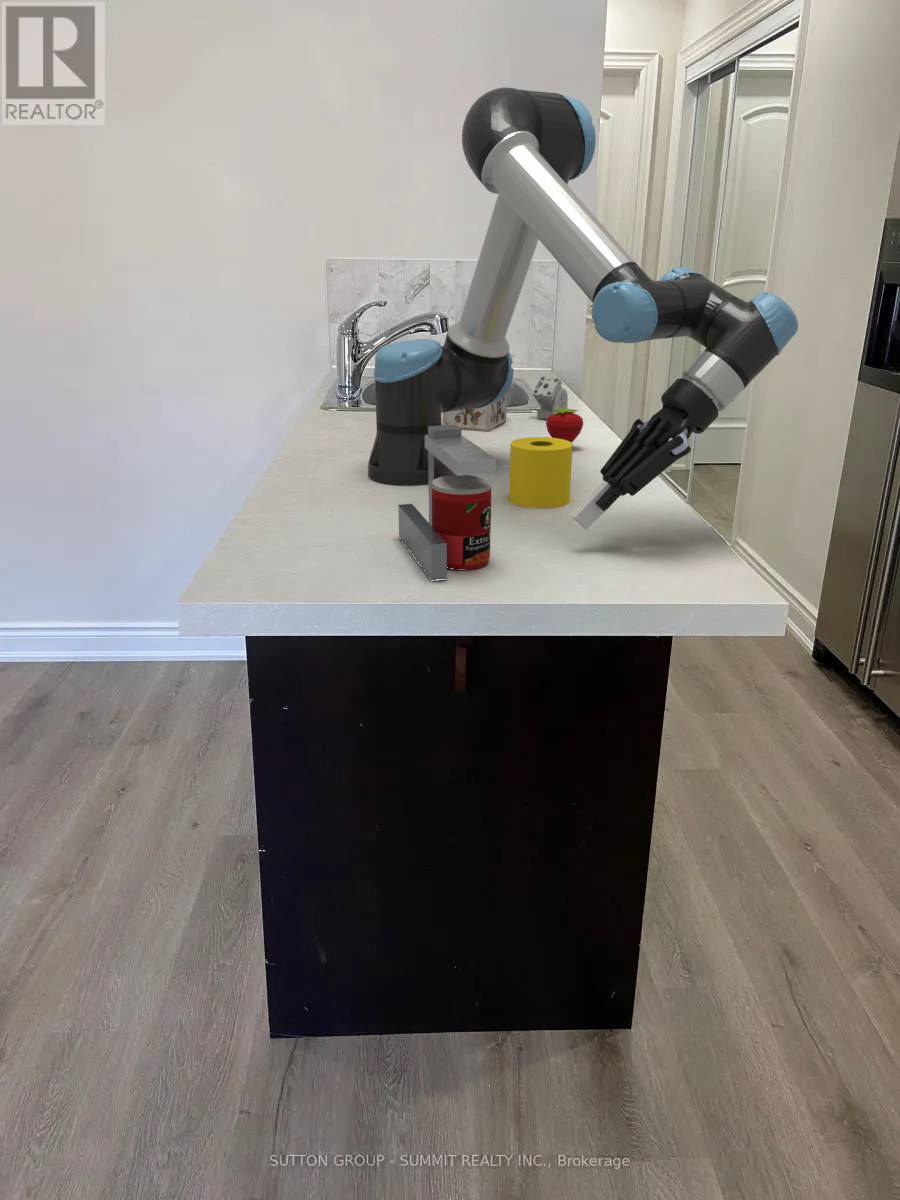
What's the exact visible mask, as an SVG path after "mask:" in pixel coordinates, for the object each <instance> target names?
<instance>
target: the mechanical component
mask: <svg viewBox="0 0 900 1200" xmlns="http://www.w3.org/2000/svg"><path fill="white" fill-rule="evenodd" d="M562 385H563V382H562V380H561V378H560V377H554V376H545V375H542V376H540V377H539V380H538V381H537V383H536V385H535V387H534V388H533V390H532V392H531V394H532V396H533V398H534V399H535V401H536V402H537V403H538V405H539V406H540V409H538V410H537V411H536V412H537V413H536V414H537V415H536V417H537V418H539V419H546V420H547V418H548V417H549V416H550V415H551V414H555V413H557V411H552V410H555V409H562V405H563V408H565V409H568V406H569V405H568V402H569V399H568V392H567V390H566V389H565V388H563V387H562ZM564 401H565V402H564ZM563 403H564V404H563Z"/></svg>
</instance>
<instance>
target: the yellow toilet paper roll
mask: <svg viewBox="0 0 900 1200" xmlns="http://www.w3.org/2000/svg"><path fill="white" fill-rule="evenodd" d="M509 456H510V457H509V458H510V459H509V487H508V488H509V490H508V491H509V492H508V493H509V494H508V495H509V497H508V498H509V499H508V501H509V502H510V501H511V502H512V504H513V503H514V504H513V505H516V504H517V505H516V506H519V505H521V506H520V507H523V506H525V507H524V508H529V507H534V508H533V509H553V508H554V507H555V508H561V507H563V506H566V505H568V504H569V503H570V502H571V500H570V499H571V485H572V484H571V482H572V481H571V480H572V462H573V461H572V459H573V442H572V443H571V442H569V441H567V440H563V439H558V438H552V437H547V436H546V437H545V436H544V437H543V436H534V437H530V436H529V437H522V438H517V439H514V440H511V442H510V455H509ZM511 502H510V503H511ZM555 508H554V509H555Z"/></svg>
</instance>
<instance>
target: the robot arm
mask: <svg viewBox="0 0 900 1200" xmlns="http://www.w3.org/2000/svg"><path fill="white" fill-rule="evenodd" d="M596 138H597V136H596V128H595V126H594V124H593V118H592V114H591V113H590V111H589V109H588V108H587V107H586V105H584V103H583V102H582V101H581V100H579V99H577V98H575V97H572V96H567V95H565V94H561V93H559V92H548V91H546V92H545V91H537V90H526V89H518V88H514V87H498V88H495V89H492V90H490V91H487V92H485V93H483V95H481V96H480V97H478V99H476V100H475V101H474V103H472V104H471V106H470V108H469V110H468V112H467V113H466V115H465V118H464V122H463V125H462V131H461V143H462V144H461V146H462V152H463V155H464V157H465V160H466V162H467V164H468V166H469V168H470V169H471V171H472V173H473V174H474V175H475V177H476V178H477V180H478V181H479V182H480V183H481V184H482V185H483V187H484V188H485V189H486V190H487V191H488V192H490V193H491V194H497V197H496V201H495V204H494V207H493V211H492V214H491V217H490V221H489V224H488V227H487V230H486V234H485V237H484V240H483V243H482V246H481V250H480V252H479V256H478V259H477V262H476V263H477V264H476V267H475V270H474V273H473V277H472V279H471V283H470V286H469V289H468V293H467V296H466V299H465V303H464V306H463V309H462V313H461V316H460V319H459V321H458V322H456V323H453V324H451V325H450V326H449V327H448V330H447V332H446V336H445V340H444V343H443V344H442V346H441V343H440V342H439V340H438V341H437V340H435V339H430V338H428V339H427V338H422V339H421V338H419V339H418V338H417V339H412V340H409V339H406V340H400V341H396V342H392V343H389V344H386V345H383V346H382V347H380V348H379V350H377V352H376V354H375V356H374V371H373V378H374V388H375V389H374V390H375V391H374V392H375V393H374V394H375V418H376V419H375V420H376V421H375V422H376V423H375V424H376V432H375V433H376V435H375V439H374V442H373V445H372V448H371V452H370V455H369V459H368V462H367V463H368V464H367V473H368V474H367V475H368V477H369V479H371V480H373V481H375V482H378V483H383V484H389V485H398V486H400V485H402V486H407V485H408V486H412V485H416V486H417V485H427V484H428V485H429V481H428V450H427V449H426V448H425V435H428V426H442V414H443V413H444V412H450V411H457V410H463V409H470V408H473V409H476V408H481V407H485V406H487V405H491V404H494V403H496V402H498V401H499V400H501V399H502V398H503V397H504V396H505V394H506V393H507V394H508V391H509V389H510V388H511V385H512V384H513V383H512V382H513V379H514V378H513V377H514V371H515V370H514V368H513V367H512V365H513V364H514V361H513V358H512V355H511V353H510V349H511V346H510V343H509V341H508V340H507V338H506V335H507V332H508V329H509V327H510V325H511V321H512V318H513V315H514V312H515V309H516V307H517V304H518V301H519V298H520V296H521V292H522V288H523V286H524V283H525V281H526V277H527V275H528V271H529V269H530V265H531V263H532V260H533V256H534V254H535V250H536V248H537V245H538V241H539V242H540V243H541V244H542V245H543V246H544V247H545V249H546V250H547V251H548V252H549V253H550V254H551V256H553V258H554V260H556V261H557V263H558V264H559V265H560V266H561V267H562V268H563V270H564V271H565V272H566V273H567V275H568V276H569V277H570V278H571V279H572V281H574V283H575V284H576V285H577V286H578V287H579V288H580V290H581V291H582V292H583V293H584V295H585V296H586V297H587V298H588V299H589V300H590V301H591V303H592V306H591V319H592V320H593V323H594V328H595V329H594V330H595V331H596V332H597V334H598V335H599V336H600V337H601V338H603V339H604V340H606V341H608V342H610V343H615V344H617V343H619V344H621V343H623V344H636V343H637V344H638V343H641V342H645V341H652V340H658V339H659V340H661V339H671V338H680V337H682V338H683V337H689V338H690V339H691V340H694V342H697V343H699V344H700V345H702V346H703V347H704V348H705V349H704V350H703V351H702V352H701V353H700V354H699V355H698V356H697V357H696V358H695V359H694V360H693V361H692V363H690V364H689V365H688V367H687V368H685V370H684V371H683V372H682V373H681V374H682V378H681V377H680V378H676V380H675V381H674V382H673V383H672V384H671V385H670V386H669V387H668V388H667V389H666V390H664V392H663V393H662V395H661V398H660V400H661V403H662V407H661V409H660V410H658V412H656V413H654V414H653V415H652V416H651V417H650V418H649V420H647V421H644V422H643V421H642V419H640V418H637V419H636V420H634V422H633V424H632V426H631V428H630V430H629V432H628V433H627V434H626V436H625V437H624V439H622V441H621V442H620V444H619V445H618V446H617V448H616V449H615V451H613V453H612V454H611V455H610V457H609V458H608V460H607V461H606V462H605V464H604V465H603V466H602V468H601V469H600V473H599V474H601V475H602V480H601V481H602V482H601V483H599V484H598V486H597V487H596V488H595V489H594V490H593V491H592V492H591V493H590V494H589V495H588V496H587V497H586V498H585V499H584V500H583V502H582V503H580V504H579V505H578V507H577V508H576V509H575V510H574V511H573V512H571V514H570V516H571V517H572V518H573V519H574V520H575V521H576V522H577V523H578V524H579V525H580V526H581V527H582V528H584V529H585V530H586V531H588V530H589V529H590V527H592V526H593V525H594V524H595V523H596V522H597V520H598V519H600V517H601V516H603V514H604V513H605V512H606V510H608V509H609V508H610V507H611V506H612V505H613V504H614V503H615V502H616V501H617V500H618V499H619V498H620V497H623V496H626V495H627V494H629V495H630V496H631V497H633V496H635V495H636V494H638V493H639V492H640V491H641V490H642V489H644V488H645V487H646V486H647V485H648V484H650V482H651V483H652V481H654V479H656V477H658V476H659V475H660V474H661V473H663V472H664V471H665V470H667V469H668V468H669V467H670V466H672V465H673V464H674V463H675V462H676V461H678V460H679V459H682V458H683V457H684V456H686V455H688V454H690V453H691V451H692V447H690V445H689V444H688V439H689V438H690V437H691V436H692V434H693V433H694V434H698V435H700V434H702V433H704V432H705V431H706V430H707V429H708V428H709V427H710V425H711V424H713V422H714V421H715V420H717V418H718V417H719V412H721V411H722V412H723V411H724V410H725V409H726V408H727V407H728V406H729V405H730V404H731V403H733V402H734V401H735V400H736V398H737V396H739V394H741V393H742V392H743V390H745V388H747V386H749V384H750V383H751V382H752V381H753V380H754V379H755V378H756V377H757V376H758V375H759V373H761V372H762V371H763V370H764V369H765V368H766V367H767V366H768V365H769V364H770V363H771V362H772V361H773V360H774V359H775V358H776V356H779V355H780V354H781V352H782V351H783V349H784V348H785V347H786V346H787V345H788V343H789V342H790V341H791V340H792V339H793V338H794V336H795V335H796V333H798V329H799V322H798V318H797V315H796V313H795V312H794V310H793V309H792V308H791V306H790V305H789V304H788V303H787V302H786V301H785V300H783V299H782V298H780V297H779V296H778V295H776V294H774V293H769V292H767V291H762V292H760V293H757V294H756V295H755V296H754V297H753V298H750V300H749V301H745V300H743V299H741V298H739V297H737V296H736V295H734V294H732V293H731V292H729V291H728V290H726V289H724V288H723V287H721V286H719V285H718V284H717V283H714V282H713V281H711V280H709V279H708V278H707V277H706V276H704V275H703V274H702V273H699V272H696V271H693V270H692V269H690V268H688V267H685V266H677V267H674V268H673V269H672V270H671V271H669V272H666V273H664V275H662V276H661V278H660V279H659V280H653V279H652V278H651V277H650V276H649V275H648V274H647V273H646V272H645V271H644V270H643V269H642V268H641V266H639V264H638V263H637V262H635V260H634V259H633V258H632V257H631V256H630V255H629V253H627V251H626V250H625V249H624V247H623V246H622V245H621V244H620V243H619V242H618V241H617V239H615V238H614V236H613V235H612V233H610V232H609V231H608V230H607V228H606V227H605V226H604V225H603V224H602V223H601V222H600V220H598V218H597V217H596V216H595V215H594V214H593V212H592V211H591V210H590V209H589V208H588V207H587V205H586V204H585V203H584V202H583V201H582V200H581V199H580V197H579V196H578V195H577V194H576V193H575V192H574V190H573V189H571V187H570V186H569V185H568V184H569V182H570V181H572V180H573V181H574V180H576V179H577V178H579V176H581V175H582V174H584V173H585V172H586V171H587V169H588V168H589V167H590V165H591V163H592V161H593V158H594V155H595V151H596V141H597V139H596Z"/></svg>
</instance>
